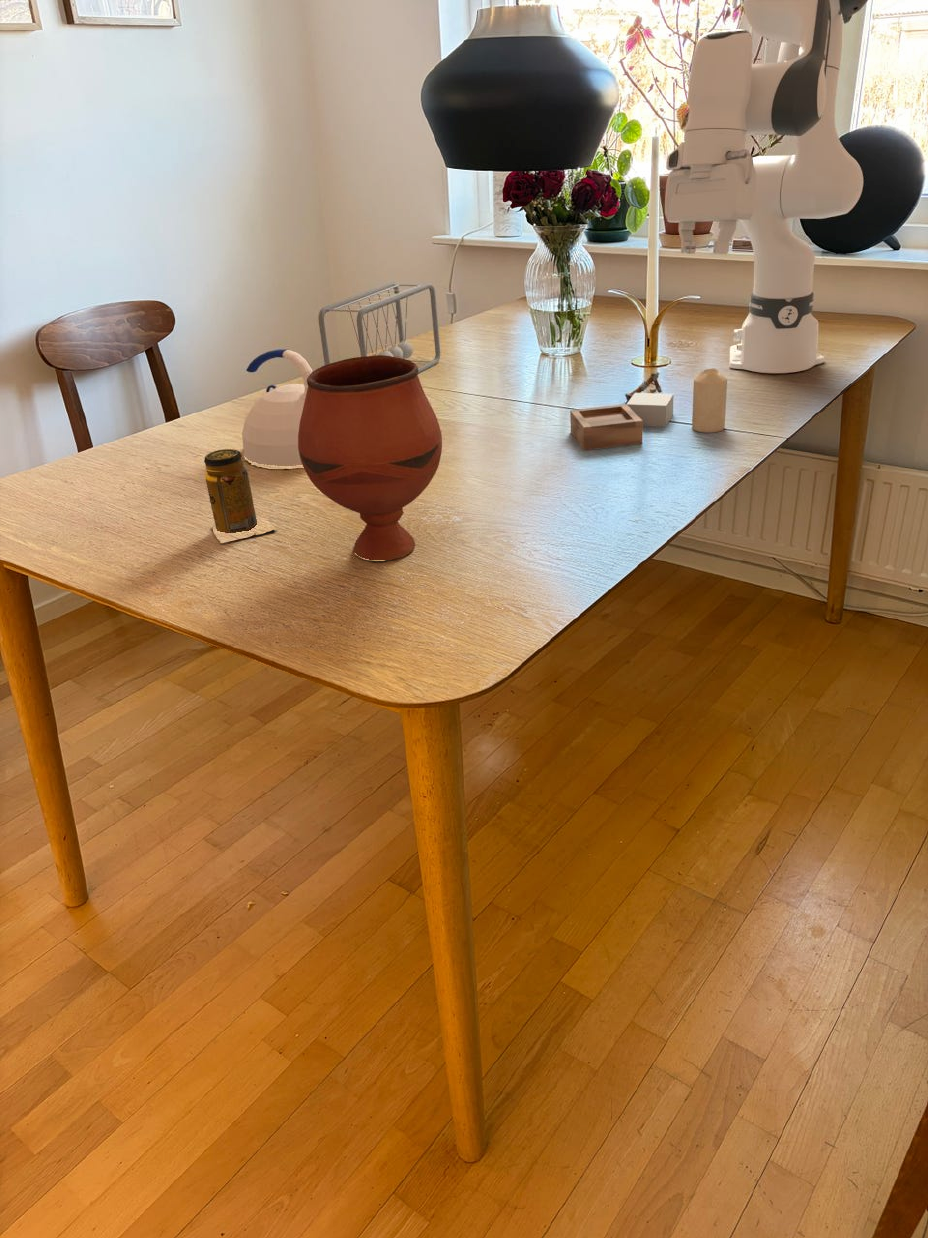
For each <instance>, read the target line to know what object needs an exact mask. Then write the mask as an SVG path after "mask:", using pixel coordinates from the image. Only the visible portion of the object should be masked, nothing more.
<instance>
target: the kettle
mask: <svg viewBox="0 0 928 1238" xmlns="http://www.w3.org/2000/svg"><path fill="white" fill-rule="evenodd" d="M276 358H281V359H282V358H283V359H284V358H285V359H287V360H289V361H291V362H292V363H293V364H294V365H295V366H296V368H297V369H298V371H299V372H300V375H301V377H302V380H303V383H289V384H288V383H287V384H284V385H281V386H280V385H279V386H278V387H277V386H276V385H274V384H271V385H269V386H267V387H266V389H265V391H266V392H265V393H264V394H263V395H262V396H261V397H260V398H259V399H258V400H257V401H256V402H254V404H253V405H252V407H251V409H250V411H249V412H248V413H247V415H246V417H245V420H244V423H243V429H242V433H241V437H242V448H243V455H244V456H245V457H246V458H247V459H248V460H250V461H252V462H256V463H258V464H264V465H265V464H266V465H275V466H276V465H277V466H294V465H295V466H296V465H303V464H302V462H301V459H300V456H299V450H298V432H299V424H300V419H301V415H302V411H303V407H304V402H305V398H306V394H307V389H308V385H307V378H308V376H309V375H310V374H311V373H312V372H313V371H314V370H313V369H312V368H311V366H310V364H309V363H308V361H307V360H306V359H305V358H304V357H303V356H302V355H301V354H300V353H299V352H296V351H292V350H290V349H274V350H269V351H266V352H264V353H262V354H260V355H258V356H257V357H256V358H254V359H253V360H252V361H251V362H250V363H249V365H248V367H247V368H246V370H245V371H246V372H248V373H255V372H257V371H258V369H259V368H260V367H261V366H262V364H263V363H265V362H267V361H270V360H272V359H276ZM244 456H243V457H244Z"/></svg>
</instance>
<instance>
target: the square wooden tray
mask: <svg viewBox="0 0 928 1238" xmlns="http://www.w3.org/2000/svg"><path fill="white" fill-rule="evenodd" d="M569 413H570V417H569V418H570V419H569V420H570V422H569V423H570V433H571V434H572V435H571V436H573V438H574V439H575V440H576V442H577V443H578V444H579V446H580V447H581V448H582V449H583V451H590V450H600V449H607V448H617V447H625V446H633V445H642V444H643V432H644V431H643V429H644V428H643V420H642V419H641V418H640V417H639V416H638V415H637V414H636V413H635V412H634V411H633V410H632V409H631V408H630V407H629V406H628V405H627V403H622V404H614V405H604V406H597V407H596V406H595V407H586V408H579V409H570V411H569Z"/></svg>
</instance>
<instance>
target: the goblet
mask: <svg viewBox="0 0 928 1238" xmlns="http://www.w3.org/2000/svg"><path fill="white" fill-rule="evenodd" d="M406 359H407V358H406ZM406 359H403V358H398V357H392V356H385V355H378V354H376V355H374V356H372V355H368V356H365V357H361V356H355V357H350V358H346V359H342V360H339V361H334V362H332V363H331V362H330V364H328V365H325V364H324V365H322V366H320V367H318V368H316V369H315V370H312V371H313V372H312V373H311V374H310V375H309V376H308V378H307V385H308V389H307V394H306V398H305V402H304V407H303V411H302V415H301V419H300V424H299V432H298V450H299V456H300V459H301V462H302V464H303V467H304V468H303V469H304V471H305V473H306V475H307V477H308V478H309V480H310V482H311V483H312V484H313V485H314V487H316V489H317V490H319V491H320V493H322V494H323V495H324V496H325V497H327V498H328V499H330V500H331V501H332V502H334V503H336V504H338V505H339V506H341V507H343V508H345V509H348V510H349V511H351V512H354V513H358V514H359V517H360V520H362V521H363V522H365V524H366V525H365V526H364V528H363V530H362V531H361V533H360V534H359V536H358V537H357V539H356V540H355V542H354V545H353V549H354V550H353V552H355V553H356V554H357V555H358V556H360V557H362V558H365V559H369V560H388V561H393V560H392V559H394V560H397V559H396V558H398V559H401V558H403V556H404V557H406V556H408V555H409V554H410V552H411V551H412V550H413V549H414V550H415V546H416V543H415V539H414V538H413V536H412V535H411V534H410V532H408V531H407V530H406V528H404V526H402V525H401V524H400V522H399V521H400V519H401V518H402V516H403V515H404V513H405V512H404V509H403V508H404V507H406V506H408V505H409V504H410V503H412V502H414V501H415V500H416V499H417V498H418V497H420V496H421V494H422V493H423V492H424V491H425V490H426V488H427V487H428V486H429V485H430V483H431V481H432V480H433V478H434V476H435V475H436V472H437V471H438V469H439V466H440V461H441V457H442V452H443V451H442V450H443V449H442V448H443V435H442V430H441V428H440V427H441V426H440V424H439V421H438V417H437V415H436V414H435V410H434V409H433V407H432V404H431V403H430V401H429V399H428V397H427V396H426V393H425V391H424V388H423V386H422V384H421V380H420V377H419V374H418V368H419V367H418V365H417V363H416V362H411V361H409V360H410V359H407V360H406ZM414 550H413V551H414ZM413 551H412V552H413ZM412 552H411V553H412ZM355 553H354V554H355ZM407 554H408V555H407ZM405 555H406V556H405ZM358 556H357V557H358ZM400 557H401V558H400Z"/></svg>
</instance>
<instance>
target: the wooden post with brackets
mask: <svg viewBox="0 0 928 1238" xmlns="http://www.w3.org/2000/svg"><path fill="white" fill-rule="evenodd" d="M659 377H660V373H659V371H656V372H652V373H650V376H649V377H648V379H646V380H644V381H643V382H642V383H641V384H640V385H639V386H638V387H637V388H636V389H634V390H633V391H631V392H629V393H624V396H625V398H626V402H628V401H629V400H630V399H631V397H632V396H633V395H634V393H643V392H644V391H645V390H646V389H648V388H649V387H650V385H654V387H655V389H654V388H652V389H649V391H648V392H647V393H656V392H657V393H659V394H662V393H663V391H662V387H661V385H660V382H659V381H658V379H659Z"/></svg>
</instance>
